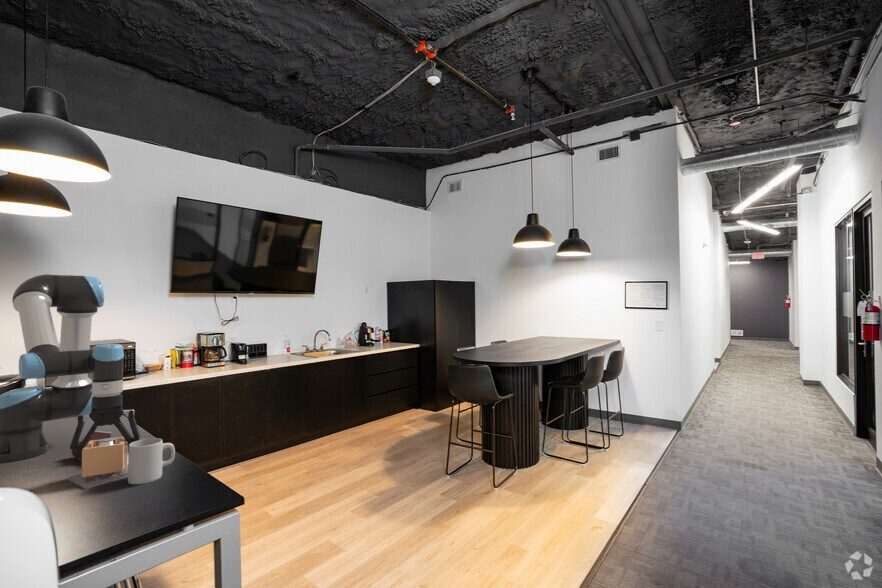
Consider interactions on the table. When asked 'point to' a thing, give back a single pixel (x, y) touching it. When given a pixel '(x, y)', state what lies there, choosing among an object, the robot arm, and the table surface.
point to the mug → (147, 460)
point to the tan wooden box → (103, 458)
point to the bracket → (96, 436)
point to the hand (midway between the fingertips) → (105, 467)
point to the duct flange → (101, 478)
